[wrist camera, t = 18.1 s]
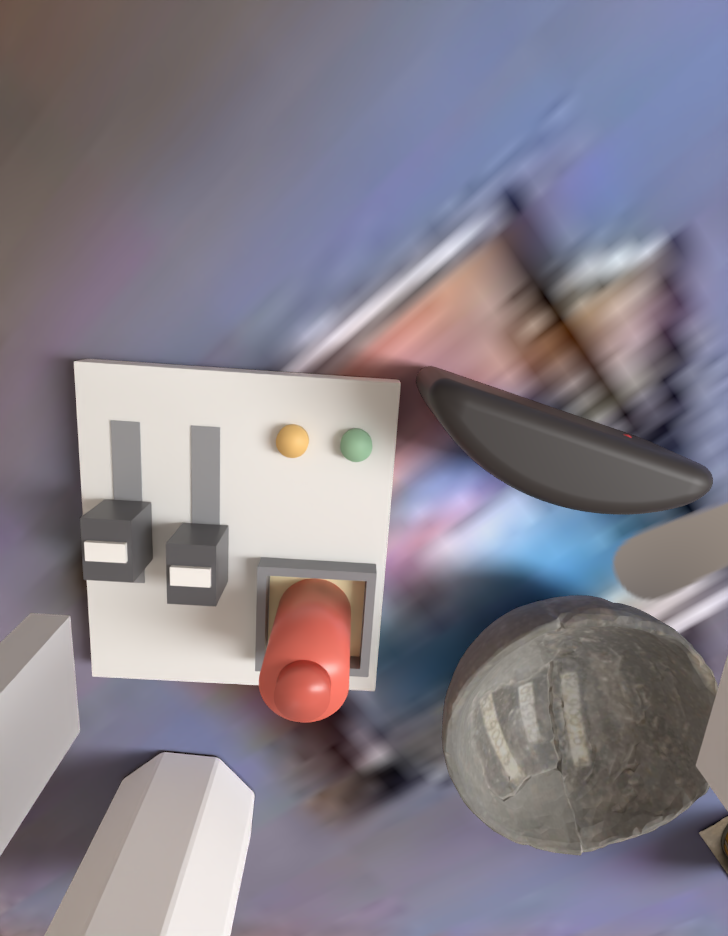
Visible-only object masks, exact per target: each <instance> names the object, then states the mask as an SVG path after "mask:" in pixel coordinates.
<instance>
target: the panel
mask: <svg viewBox="0 0 728 936" xmlns="http://www.w3.org/2000/svg"><path fill="white" fill-rule="evenodd" d="M74 374H75V391H76V407H77V424H78V441H79V458H80V475H81V492H82V509H83V515H84V514H85V513H87V512H88V511H89V510H91V509H92V508H94V507H95V506H96V505H98V504H99V503H100V502H102V501H103V500H104V499H108V500H125V501H141V502H151V508H152V545H153V560H152V561H151V562H150V563H149V564H148V566H147V567H146V568H145V569H144V571H143V572H142V573H141V574H140V575H139V577H138V578H137V579H136V580H135V581H134V583H130V582H112V581H94V580H87V594H88V611H89V628H90V645H91V661H92V676H94V677H113V678H132V679H151V680H170V681H189V682H208V683H227V684H246V685H259V675H260V671H261V668H262V664H263V660H264V657H265V653H266V649H267V646H268V642H269V638H270V635H271V631H272V627H273V624H274V620H275V616H276V613H277V609H278V605H279V602H280V599H281V597H282V595H283V594H284V592H285V591H286V590H287V589H288V588H289V587H290V586H292V585H293V584H295V583H297V582H299V581H301V580H305V579H312V578H315V579H323V580H327V581H329V582H332V583H333V584H335V585H337V586H338V587H339V588H340V589H341V590H342V591H343V592H344V593H345V594H346V596H347V598H348V600H349V602H350V606H351V634H350V672H349V690H361V691H375V685H376V673H377V661H378V649H379V637H380V625H381V614H382V602H383V590H384V578H385V566H386V554H387V542H388V530H389V518H390V507H391V495H392V483H393V471H394V459H395V447H396V435H397V423H398V411H399V400H400V388H401V383H400V381H399V380H396V379H381V378H367V377H352V376H337V375H322V374H307V373H292V372H278V371H263V370H248V369H233V368H218V367H203V366H189V365H174V364H159V363H144V362H129V361H114V360H99V359H84V360H78V361H74ZM182 523H196V524H213V525H229V547H228V583H227V585H226V587H225V589H224V591H223V593H222V595H221V597H220V599H219V601H218V604H217V606H198V605H180V604H167V580H166V542H167V541H168V540H169V539H170V537H171V536H172V535H173V534H174V533H175V531H176V530H177V529H178V528H179V527H180V525H181V524H182Z"/></svg>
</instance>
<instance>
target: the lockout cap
mask: <svg viewBox="0 0 728 936" xmlns="http://www.w3.org/2000/svg"><path fill="white" fill-rule="evenodd" d="M350 634H351V606H350V602H349V600H348V598H347V596H346V594H345V593H344V592H343V591H342V590H341V589H340V588H339V587H338V586H337V585H335V584H333V583H332V582H329V581H327V580H323V579H315V578H312V579H305V580H301V581H299V582H297V583H295V584H293V585H292V586H290V587H289V588H288V589H287V590H286V591H285V592H284V594H283V595H282V597H281V599H280V602H279V605H278V609H277V613H276V616H275V620H274V624H273V627H272V631H271V635H270V638H269V642H268V646H267V649H266V653H265V657H264V660H263V664H262V668H261V671H260V675H259V689H260V693H261V696H262V698H263V700H264V701H265V703H266V704H267V706H268V707H269V708H270V709H271V710H272V711H274V712H275V713H276V714H278V715H279V716H281V717H283V718H285V719H288V720H291V721H296V722H314V721H319V720H321V719H324V718H326V717H328V716H330V715H332V714H333V713H335V712H336V711H337V710H338V709H339V708H340V707H341V706H342V704H343V703H344V701H345V699H346V697H347V694H348V691H349V672H350Z"/></svg>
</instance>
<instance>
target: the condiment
mask: <svg viewBox="0 0 728 936" xmlns="http://www.w3.org/2000/svg"><path fill="white" fill-rule="evenodd" d="M699 834H700V835H701V837H702V838H703V840H704V841H705V842H706V844H707V845H708V847H709V848H710V850H711V851H712V852H713V854H714V855H715V857H716V858H717V860H718V861H719V863H720V864H721V865H722V867H723V868H724V870H725V871H726V873H727V874H728V816H727V817H725V818H723V819H722V820H721V821H719V822H717V823H716V824H715V825H713V826H711V827H709V828H707V829H705V830H703V831H701V832H699Z"/></svg>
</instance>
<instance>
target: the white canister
mask: <svg viewBox="0 0 728 936" xmlns="http://www.w3.org/2000/svg"><path fill="white" fill-rule="evenodd" d="M254 796H255V795H254V793H253V791H252V790H251V789H250V788H249V787H248V786H247V785H246V784H245V783H244V782H243V781H242V780H241V779H240V778H239V777H238V776H237V775H236V774H235V773H234V772H233V771H232V770H231V769H230V768H229V767H228V766H227V765H226V764H225V763H224V762H223V761H222V760H221V759H219V758H217V757H208V756H199V755H189V754H179V753H169V752H163V753H160V754H159V755H157V756H156V757H154V758H153V759H151V760H150V761H149V762H147V763H146V764H144V765H143V766H141V767H140V768H139V769H137V770H136V771H134V772H133V773H131V774H130V775H129V776H127V777H126V778H124V779H123V780H122V782H121V784H120V786H119V788H118V790H117V792H116V794H115V796H114V798H113V800H112V802H111V804H110V806H109V808H108V810H107V812H106V814H105V816H104V818H103V820H102V822H101V824H100V826H99V828H98V830H97V832H96V834H95V836H94V838H93V840H92V842H91V844H90V846H89V848H88V850H87V852H86V854H85V856H84V858H83V860H82V862H81V864H80V866H79V868H78V870H77V872H76V874H75V876H74V878H73V880H72V882H71V884H70V886H69V888H68V890H67V892H66V894H65V896H64V898H63V900H62V902H61V904H60V906H59V908H58V910H57V912H56V914H55V916H54V918H53V920H52V922H51V924H50V926H49V928H48V930H47V932H46V934H45V936H230V934H231V929H232V924H233V919H234V914H235V909H236V904H237V899H238V894H239V889H240V884H241V880H242V875H243V870H244V865H245V860H246V855H247V850H248V845H249V840H250V835H251V825H252V816H253V806H254Z"/></svg>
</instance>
